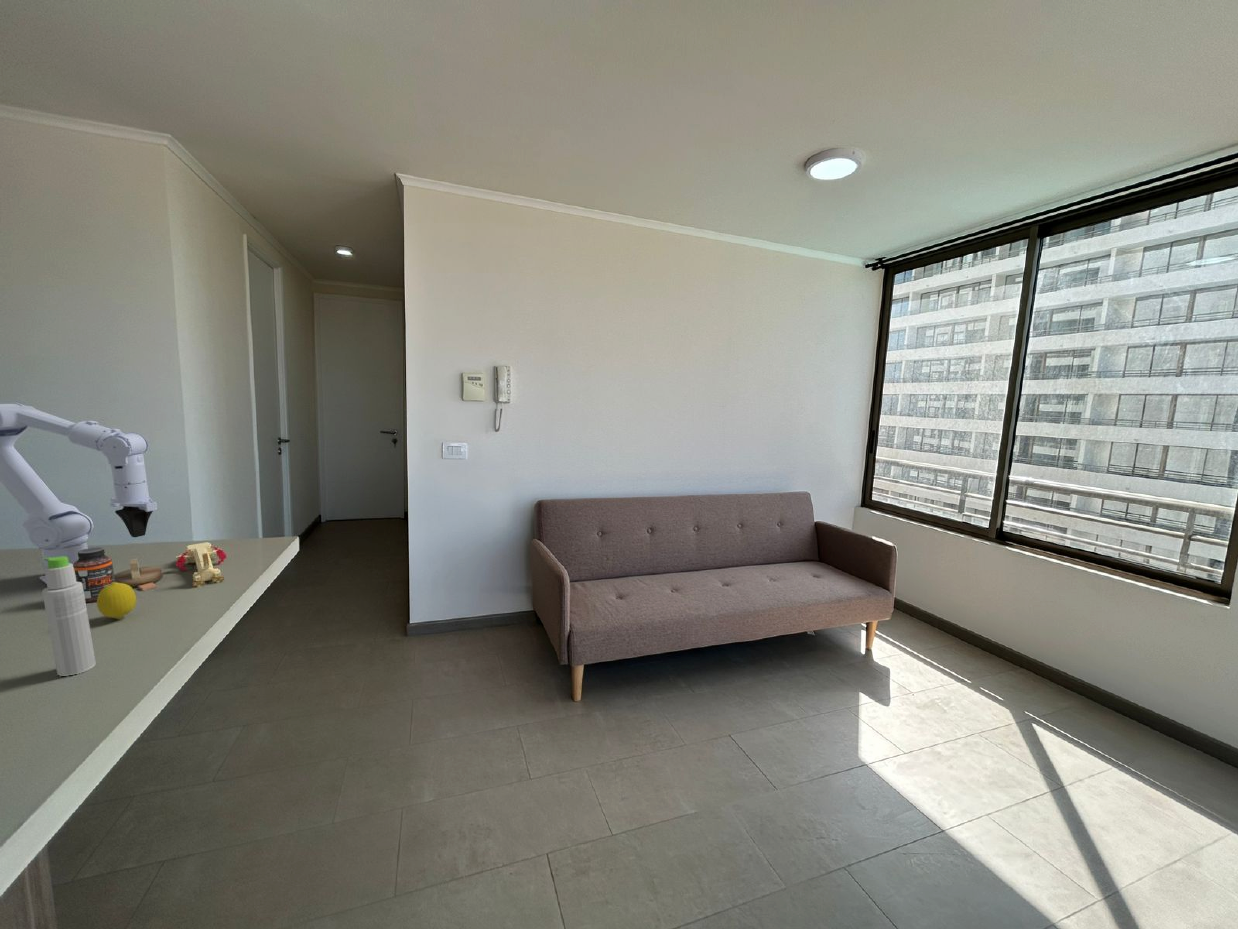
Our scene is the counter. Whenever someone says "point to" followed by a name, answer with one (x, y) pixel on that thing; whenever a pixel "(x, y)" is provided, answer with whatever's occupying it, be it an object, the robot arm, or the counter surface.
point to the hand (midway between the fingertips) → (138, 536)
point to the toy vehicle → (202, 562)
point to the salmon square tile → (147, 586)
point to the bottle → (67, 618)
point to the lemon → (116, 600)
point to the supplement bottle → (93, 572)
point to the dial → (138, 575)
